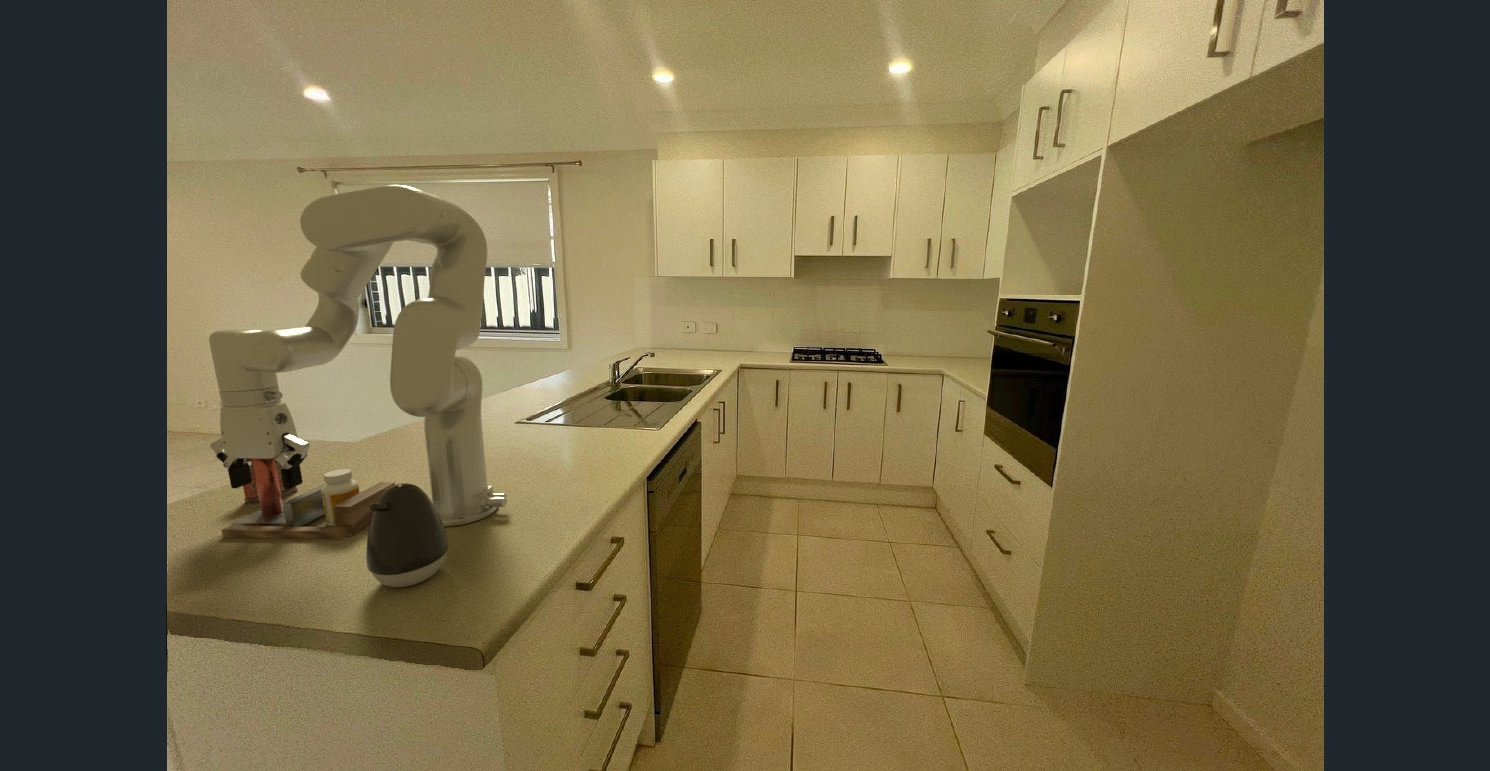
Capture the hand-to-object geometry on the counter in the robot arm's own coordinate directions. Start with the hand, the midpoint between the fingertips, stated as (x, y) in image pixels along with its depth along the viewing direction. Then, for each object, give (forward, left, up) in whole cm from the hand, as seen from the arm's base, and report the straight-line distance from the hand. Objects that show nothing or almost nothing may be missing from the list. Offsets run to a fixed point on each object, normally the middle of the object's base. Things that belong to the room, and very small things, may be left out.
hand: (267, 485), depth 89 cm
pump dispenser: (-39, +18, -7) cm, 43 cm away
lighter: (+10, -10, -7) cm, 16 cm away
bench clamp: (-10, 0, -7) cm, 12 cm away
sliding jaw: (-3, 0, -6) cm, 7 cm away
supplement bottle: (-14, 0, -7) cm, 15 cm away
